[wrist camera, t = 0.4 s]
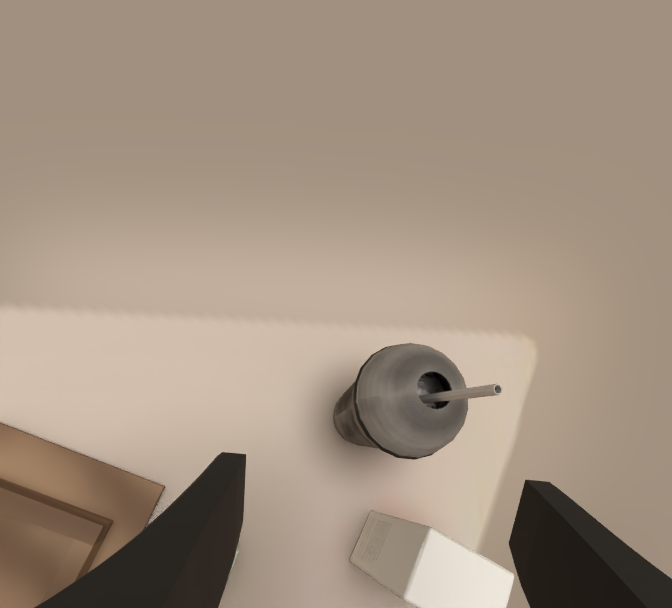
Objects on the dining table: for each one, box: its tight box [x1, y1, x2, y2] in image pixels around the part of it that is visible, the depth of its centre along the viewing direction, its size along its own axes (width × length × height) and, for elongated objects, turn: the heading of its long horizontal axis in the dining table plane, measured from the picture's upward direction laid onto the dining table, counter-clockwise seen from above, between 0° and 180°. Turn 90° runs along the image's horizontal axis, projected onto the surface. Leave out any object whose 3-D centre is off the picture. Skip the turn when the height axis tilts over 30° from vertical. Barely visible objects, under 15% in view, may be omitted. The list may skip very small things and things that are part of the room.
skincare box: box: [350, 511, 514, 608], centre depth 31 cm, size 6×4×12 cm
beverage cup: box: [333, 343, 502, 459], centre depth 30 cm, size 7×7×20 cm
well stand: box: [0, 423, 165, 608], centre depth 28 cm, size 15×13×4 cm
